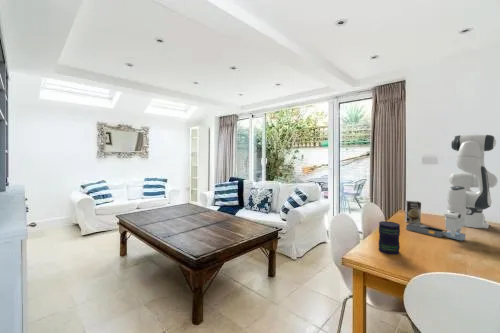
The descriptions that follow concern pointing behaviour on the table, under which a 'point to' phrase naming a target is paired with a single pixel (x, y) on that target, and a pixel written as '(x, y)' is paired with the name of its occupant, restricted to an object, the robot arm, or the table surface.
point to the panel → (458, 236)
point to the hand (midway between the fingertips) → (455, 235)
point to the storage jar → (389, 237)
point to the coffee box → (413, 212)
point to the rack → (426, 230)
